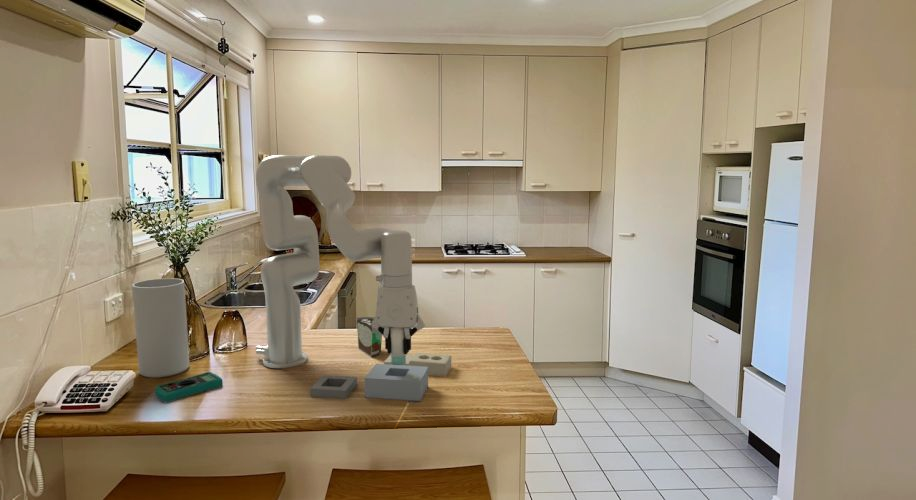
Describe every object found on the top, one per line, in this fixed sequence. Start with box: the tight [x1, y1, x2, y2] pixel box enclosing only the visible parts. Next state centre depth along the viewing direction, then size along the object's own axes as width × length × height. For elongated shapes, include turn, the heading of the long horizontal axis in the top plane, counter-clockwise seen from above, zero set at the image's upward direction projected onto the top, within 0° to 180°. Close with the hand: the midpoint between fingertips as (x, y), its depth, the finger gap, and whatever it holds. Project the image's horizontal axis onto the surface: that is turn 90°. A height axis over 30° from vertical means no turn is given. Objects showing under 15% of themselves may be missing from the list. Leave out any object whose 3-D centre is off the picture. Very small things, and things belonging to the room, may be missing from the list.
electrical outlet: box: [383, 352, 452, 377], centre depth 157 cm, size 7×4×18 cm
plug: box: [390, 328, 406, 365], centre depth 139 cm, size 4×4×10 cm
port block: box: [364, 363, 429, 404], centre depth 140 cm, size 14×10×6 cm
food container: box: [355, 316, 383, 358], centre depth 171 cm, size 12×6×10 cm, turn 34°
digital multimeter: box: [154, 371, 224, 403], centre depth 141 cm, size 7×15×3 cm, turn 138°
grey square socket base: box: [309, 374, 358, 400], centre depth 141 cm, size 9×9×2 cm
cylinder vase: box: [131, 277, 190, 379], centre depth 153 cm, size 12×12×25 cm
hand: (398, 351), depth 139 cm, fingers closed on plug, 3 cm apart
